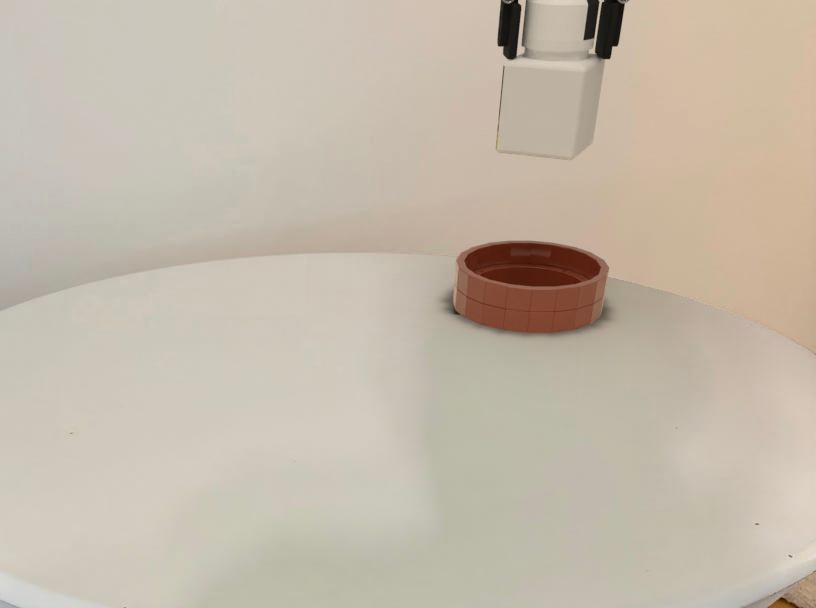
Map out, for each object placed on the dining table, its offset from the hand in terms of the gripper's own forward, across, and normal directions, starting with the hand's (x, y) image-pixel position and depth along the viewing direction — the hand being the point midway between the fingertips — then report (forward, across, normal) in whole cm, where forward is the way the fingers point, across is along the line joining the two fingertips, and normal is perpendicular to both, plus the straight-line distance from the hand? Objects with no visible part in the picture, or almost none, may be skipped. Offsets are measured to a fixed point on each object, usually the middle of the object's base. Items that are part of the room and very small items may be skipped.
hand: (555, 55), depth 84 cm
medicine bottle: (+8, 0, 0) cm, 8 cm away
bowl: (+23, 0, -1) cm, 23 cm away
